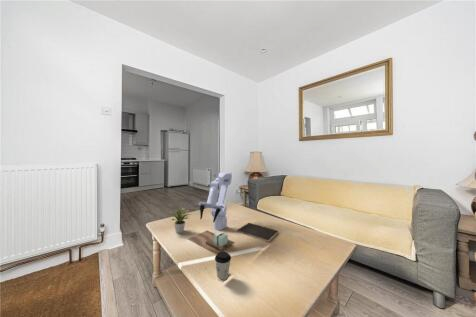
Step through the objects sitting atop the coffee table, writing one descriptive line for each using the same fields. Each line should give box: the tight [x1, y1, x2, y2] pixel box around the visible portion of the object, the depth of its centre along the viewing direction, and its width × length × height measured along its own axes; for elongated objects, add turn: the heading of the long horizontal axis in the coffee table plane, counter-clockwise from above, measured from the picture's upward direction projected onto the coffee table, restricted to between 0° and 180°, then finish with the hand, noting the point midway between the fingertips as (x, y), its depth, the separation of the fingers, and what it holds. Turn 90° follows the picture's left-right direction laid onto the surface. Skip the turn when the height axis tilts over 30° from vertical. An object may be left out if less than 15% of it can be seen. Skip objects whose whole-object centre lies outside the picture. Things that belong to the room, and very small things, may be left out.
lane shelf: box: [187, 230, 236, 255], centre depth 102 cm, size 16×25×2 cm, turn 52°
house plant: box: [171, 207, 192, 234], centre depth 114 cm, size 14×14×16 cm
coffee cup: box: [214, 251, 232, 282], centre depth 73 cm, size 7×7×10 cm
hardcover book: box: [237, 222, 279, 243], centre depth 116 cm, size 16×23×2 cm
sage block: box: [214, 231, 229, 247], centre depth 97 cm, size 5×6×7 cm
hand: (207, 220), depth 97 cm, fingers open, 7 cm apart
